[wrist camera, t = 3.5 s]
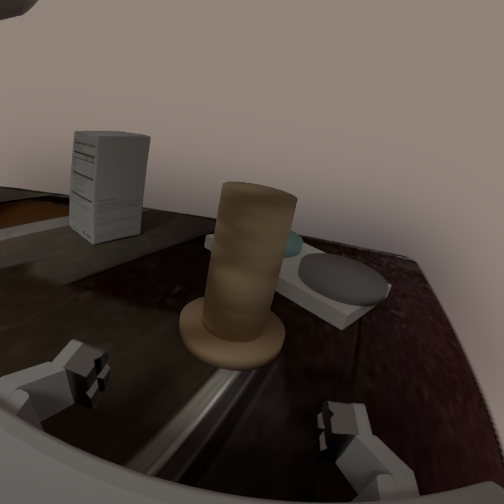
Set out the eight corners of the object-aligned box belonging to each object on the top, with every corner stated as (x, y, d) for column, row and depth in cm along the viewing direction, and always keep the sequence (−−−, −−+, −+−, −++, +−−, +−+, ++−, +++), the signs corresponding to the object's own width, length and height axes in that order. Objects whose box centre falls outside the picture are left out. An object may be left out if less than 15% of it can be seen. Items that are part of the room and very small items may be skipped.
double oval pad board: (199, 244, 40) (202, 223, 39) (262, 234, 49) (266, 217, 48) (350, 335, 27) (361, 309, 26) (393, 300, 35) (402, 279, 34)
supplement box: (112, 219, 42) (121, 130, 38) (141, 235, 39) (153, 135, 34) (67, 226, 37) (73, 130, 32) (91, 246, 33) (99, 133, 28)
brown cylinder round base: (158, 321, 24) (173, 175, 20) (233, 298, 29) (257, 178, 25) (226, 386, 19) (264, 213, 15) (301, 345, 24) (344, 208, 20)
